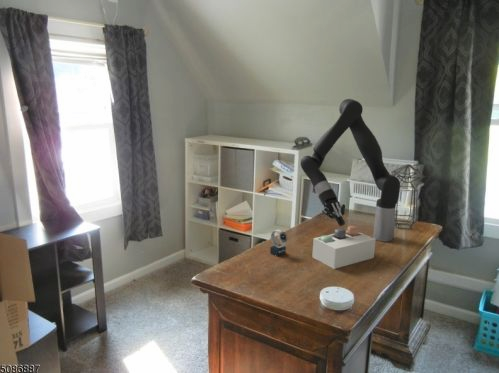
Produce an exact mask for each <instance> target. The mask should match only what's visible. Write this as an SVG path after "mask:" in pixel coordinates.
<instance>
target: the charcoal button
mask: <svg viewBox="0 0 499 373" xmlns="http://www.w3.org/2000/svg"><path fill="white" fill-rule="evenodd" d="M346 231H347V229H345V228H338V227H337V228H335V229H334V233H333V234H334V237H335V238H337V239H339V240H341V239H345V238H346Z"/></svg>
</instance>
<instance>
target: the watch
mask: <svg viewBox="0 0 499 373" xmlns="http://www.w3.org/2000/svg"><path fill="white" fill-rule="evenodd" d="M275 233H276V234H277V237H276V236H275ZM270 240H271V243H272V246H270V251H269V252H270V253H271V255H273V256H275V255H276V257H279V256H282V255H284V253H285V254H286V250H287V249H286V248H287V247H286V244H287V242H288V235H287V233H286V232H284V230H282V229H276V230H272V231H271V233H270ZM277 240H278V241H279V243H280V244H278V242H277Z"/></svg>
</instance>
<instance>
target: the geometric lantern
mask: <svg viewBox="0 0 499 373" xmlns="http://www.w3.org/2000/svg"><path fill="white" fill-rule="evenodd" d="M410 170H412V171H413V172H411V171H410ZM402 171H403V172H402ZM407 172H408V173H407ZM390 173H391V175H393V176H395V177H397V178H398V179H399V181H400V188H401V187H403V188H412V189H403V191H407V192H411V198H410V204H409V205H410V206H409V207H410V208H409V214H398V204H399V201H398V202H397V204H396V208H395V218H394V221H395V228H396V229H400V227H399V226H401V225H402V226H409V228H408V227H401V229H405V230H412V228H413V225H415V223H416V222H418V195H419V194H418V193H419V189H418V186H419V184H420V183H421V182H422V181H423V179H424V178H426V176H425V175H423V174H422V173H421V172H420V171H418V170H417V169H416V168H415V167H414V166H413V165H412V164H404V165H402V166H400V167H398V168H395V169H394V170H392V171H391V172H390ZM401 174H403V175H401ZM416 174H417V175H418V176H415V177H414V175H416ZM412 179H413V180H412ZM406 180H407V181H406ZM414 181H418V182H417V184H416V185H415V186H414V184H413V182H414ZM401 182H403V184H410V185H411V186H409V185H403V184H402V183H401ZM412 204H413V206H412ZM412 209H413V210H412ZM411 213H412V215H411ZM398 216H399V217H408V218H407V219H406V220H401V219H397V218H398ZM410 217H411V219H410ZM400 222H401V223H400Z"/></svg>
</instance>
